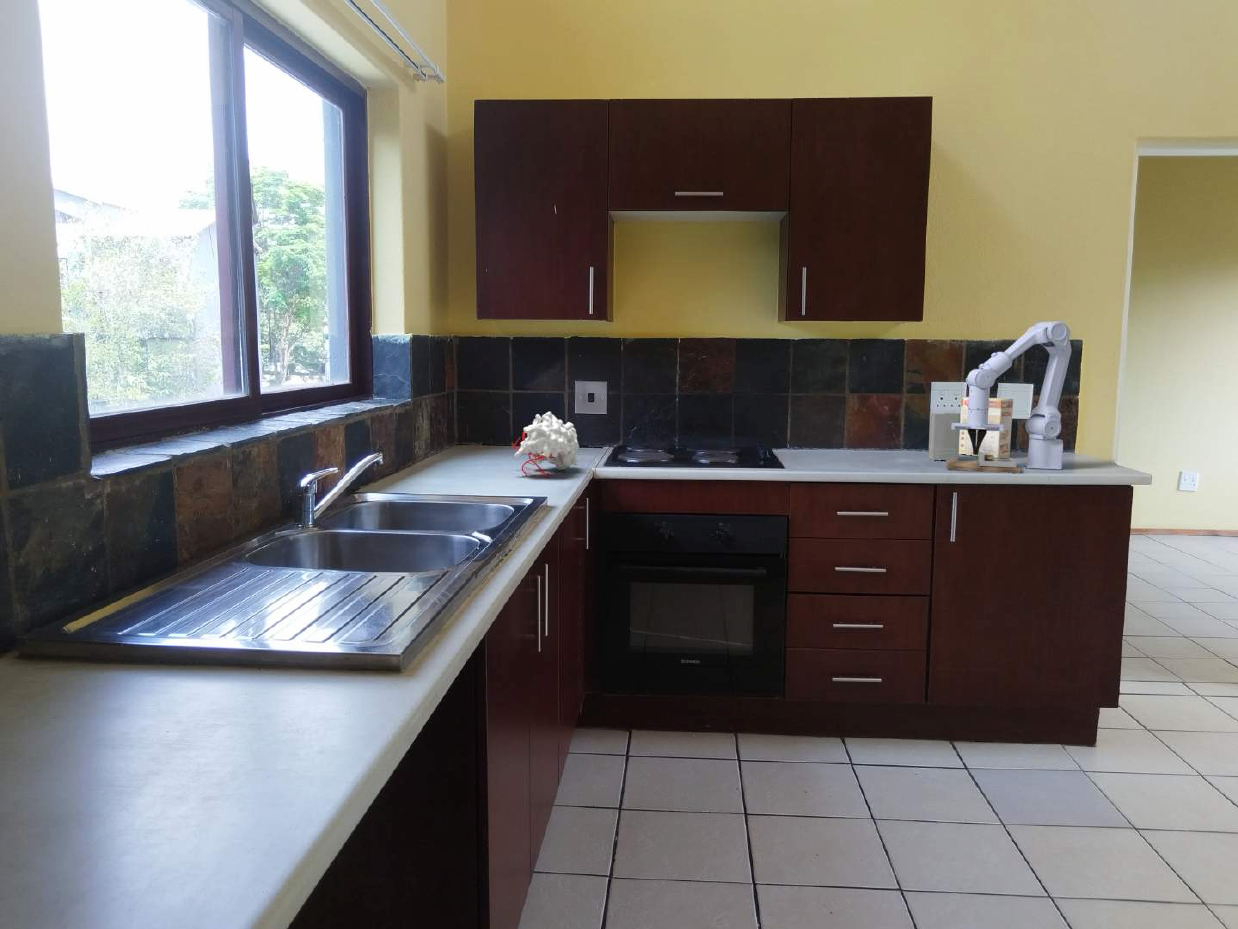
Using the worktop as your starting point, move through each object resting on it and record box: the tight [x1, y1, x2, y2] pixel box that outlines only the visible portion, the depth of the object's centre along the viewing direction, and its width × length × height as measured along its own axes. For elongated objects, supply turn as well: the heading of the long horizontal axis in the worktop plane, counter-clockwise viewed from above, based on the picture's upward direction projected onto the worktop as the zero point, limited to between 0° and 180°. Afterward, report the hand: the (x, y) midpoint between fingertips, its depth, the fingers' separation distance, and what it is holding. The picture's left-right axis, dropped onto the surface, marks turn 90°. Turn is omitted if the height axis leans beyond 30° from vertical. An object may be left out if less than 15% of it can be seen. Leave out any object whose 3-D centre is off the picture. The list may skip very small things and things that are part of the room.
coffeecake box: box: [959, 396, 1014, 458], centre depth 302 cm, size 15×7×20 cm, turn 34°
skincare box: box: [928, 410, 961, 461], centre depth 291 cm, size 8×7×16 cm
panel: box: [977, 448, 1017, 468], centre depth 272 cm, size 10×11×4 cm
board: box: [945, 455, 1021, 474], centre depth 273 cm, size 20×14×4 cm
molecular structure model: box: [511, 411, 580, 478], centre depth 255 cm, size 20×18×25 cm
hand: (975, 454), depth 274 cm, fingers closed
